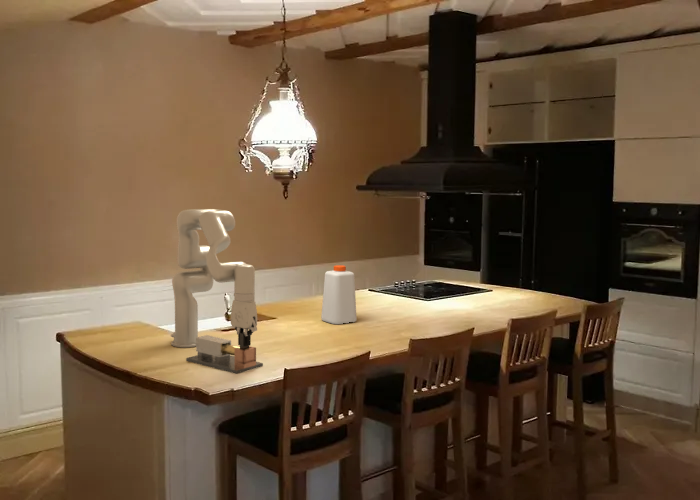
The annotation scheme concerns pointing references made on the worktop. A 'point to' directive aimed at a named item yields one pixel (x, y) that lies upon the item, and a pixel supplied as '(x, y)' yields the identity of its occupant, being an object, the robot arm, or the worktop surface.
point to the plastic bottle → (339, 296)
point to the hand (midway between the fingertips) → (244, 344)
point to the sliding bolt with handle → (231, 349)
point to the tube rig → (223, 355)
